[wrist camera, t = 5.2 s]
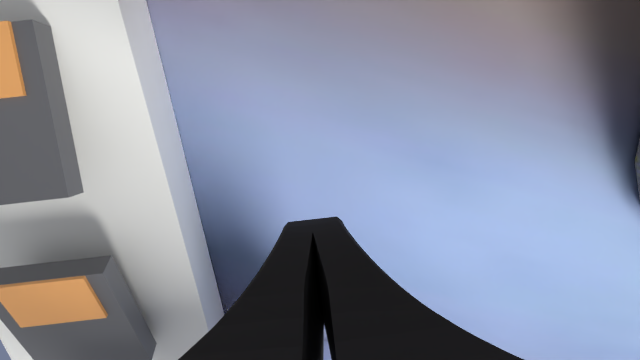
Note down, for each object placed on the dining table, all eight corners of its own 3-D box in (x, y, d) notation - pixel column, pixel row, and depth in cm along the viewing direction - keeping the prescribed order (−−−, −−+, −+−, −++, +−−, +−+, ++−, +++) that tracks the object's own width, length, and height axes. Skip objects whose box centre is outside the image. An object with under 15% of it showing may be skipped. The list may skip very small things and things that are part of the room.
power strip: (235, 358, 26) (228, 401, 23) (73, 377, 26) (46, 422, 23) (53, -371, 13) (-11, -469, 10) (-271, -339, 13) (-424, -429, 10)
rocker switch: (156, 343, 20) (150, 365, 20) (54, 355, 20) (43, 377, 19) (111, 255, 17) (101, 276, 16) (-11, 269, 17) (-28, 291, 16)
